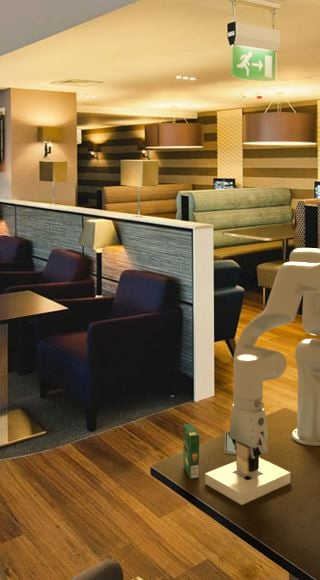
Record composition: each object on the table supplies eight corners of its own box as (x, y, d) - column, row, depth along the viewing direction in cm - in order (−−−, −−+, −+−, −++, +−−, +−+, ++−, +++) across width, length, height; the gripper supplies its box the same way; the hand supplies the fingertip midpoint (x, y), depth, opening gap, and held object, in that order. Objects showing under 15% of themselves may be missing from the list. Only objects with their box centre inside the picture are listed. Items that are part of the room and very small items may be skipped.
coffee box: (200, 479, 171) (199, 434, 168) (190, 480, 170) (189, 435, 168) (193, 466, 178) (192, 422, 176) (183, 467, 178) (182, 423, 175)
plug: (247, 465, 170) (247, 437, 168) (257, 470, 167) (258, 442, 165) (236, 469, 167) (236, 441, 166) (247, 475, 164) (247, 446, 163)
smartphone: (248, 433, 199) (249, 453, 185) (248, 435, 200) (249, 455, 185) (224, 432, 200) (224, 452, 186) (224, 434, 200) (224, 455, 186)
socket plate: (253, 464, 179) (253, 454, 178) (290, 482, 168) (290, 472, 167) (205, 483, 168) (205, 473, 168) (241, 504, 157) (241, 494, 157)
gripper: (281, 407, 159) (280, 474, 162) (236, 390, 172) (235, 452, 176) (260, 414, 155) (260, 483, 158) (215, 396, 168) (215, 460, 171)
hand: (247, 466), depth 167 cm, fingers closed on plug, 4 cm apart
